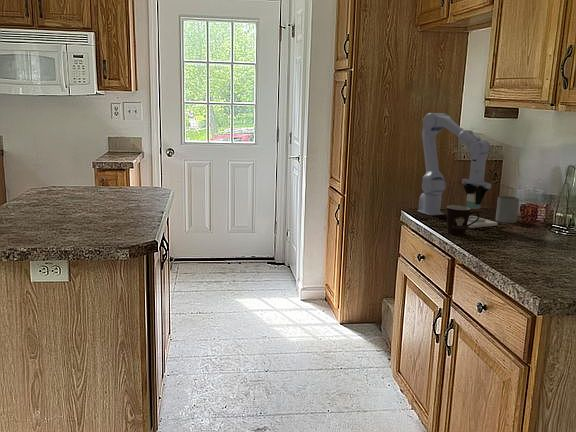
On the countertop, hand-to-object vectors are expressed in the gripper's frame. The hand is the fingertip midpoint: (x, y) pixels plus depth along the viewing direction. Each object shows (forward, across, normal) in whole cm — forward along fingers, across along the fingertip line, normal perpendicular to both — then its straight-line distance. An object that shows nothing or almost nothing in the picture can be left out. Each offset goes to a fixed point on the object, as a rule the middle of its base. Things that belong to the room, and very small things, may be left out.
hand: (474, 203), depth 232 cm
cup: (+9, +1, +18) cm, 20 cm away
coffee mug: (+9, +14, -19) cm, 25 cm away
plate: (+8, 0, 0) cm, 8 cm away
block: (+2, 0, 0) cm, 2 cm away
